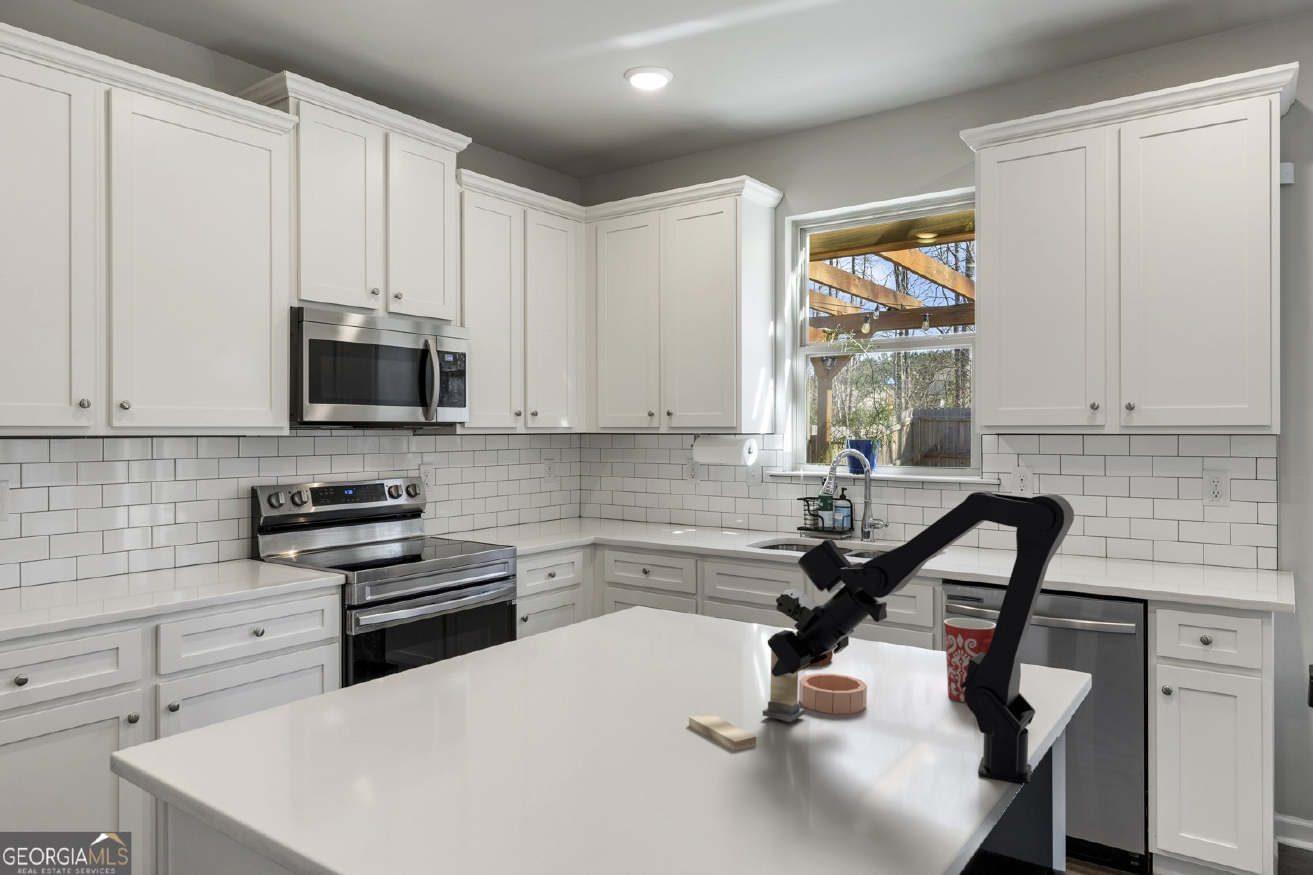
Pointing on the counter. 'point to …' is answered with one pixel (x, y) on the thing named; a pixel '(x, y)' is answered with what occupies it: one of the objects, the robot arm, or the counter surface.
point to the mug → (964, 649)
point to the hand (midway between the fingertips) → (776, 672)
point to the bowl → (833, 693)
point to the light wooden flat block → (722, 731)
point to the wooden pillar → (783, 696)
